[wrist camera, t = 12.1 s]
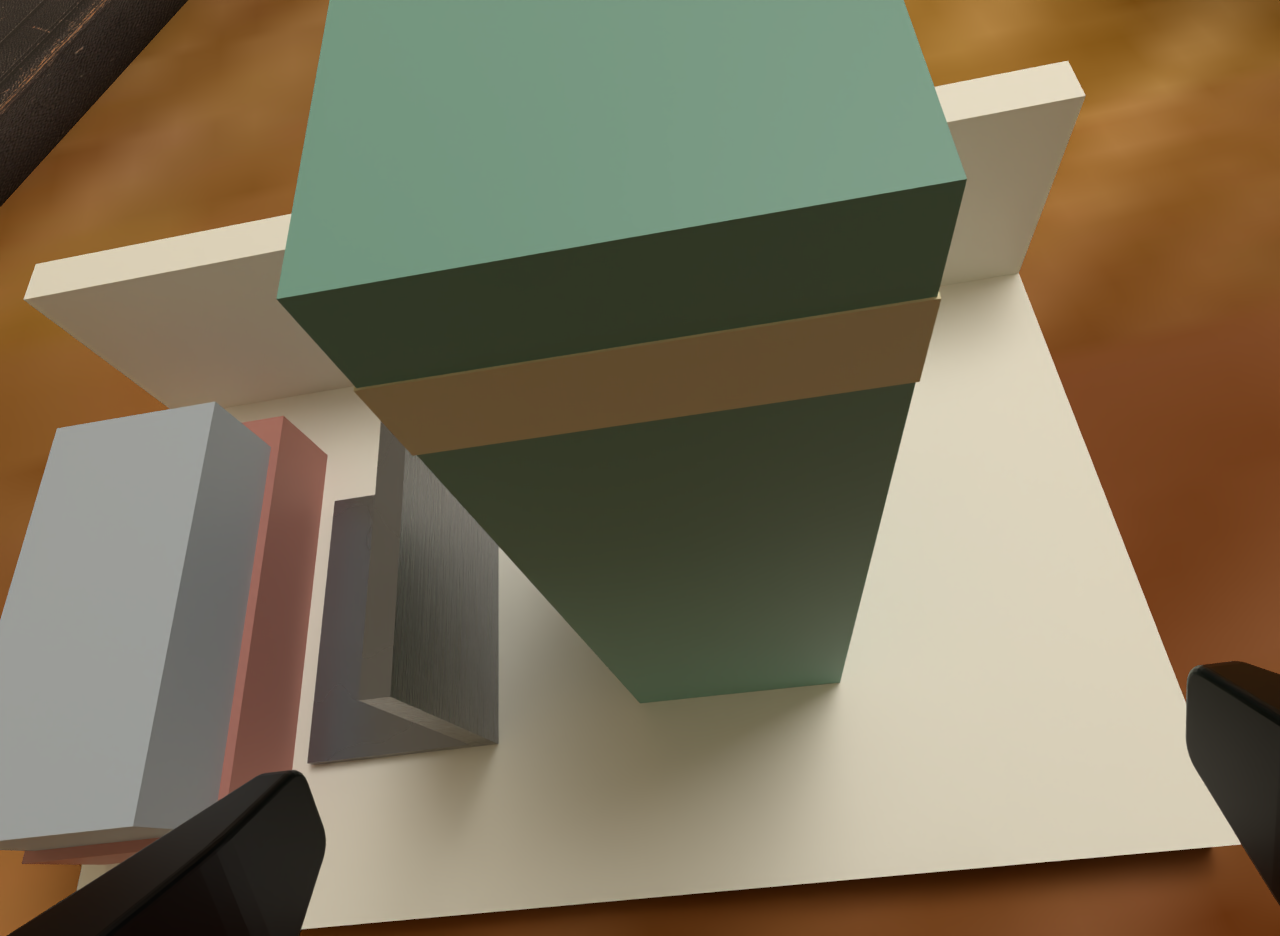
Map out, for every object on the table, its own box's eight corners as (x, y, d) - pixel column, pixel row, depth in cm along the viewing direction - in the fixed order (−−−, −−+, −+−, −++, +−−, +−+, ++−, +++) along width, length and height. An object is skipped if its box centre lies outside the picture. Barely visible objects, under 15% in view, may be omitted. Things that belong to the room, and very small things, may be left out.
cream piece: (1213, 846, 14) (1457, 830, 9) (101, 947, 17) (-214, 980, 12) (997, 268, 21) (1067, 60, 15) (209, 403, 23) (36, 264, 18)
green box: (841, 683, 16) (971, 181, 4) (639, 704, 16) (273, 302, 5) (800, 458, 18) (814, -259, 7) (624, 482, 19) (354, -147, 7)
